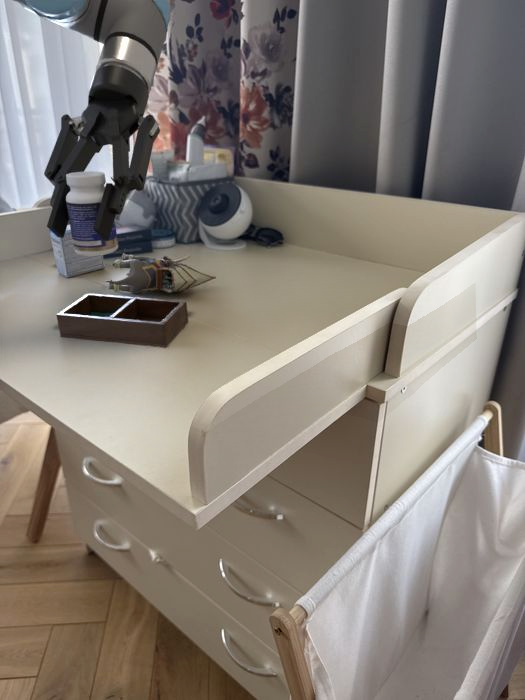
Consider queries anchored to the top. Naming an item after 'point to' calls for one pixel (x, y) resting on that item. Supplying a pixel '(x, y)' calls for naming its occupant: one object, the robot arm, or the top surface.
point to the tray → (123, 319)
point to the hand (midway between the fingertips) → (78, 233)
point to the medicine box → (72, 256)
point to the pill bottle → (87, 213)
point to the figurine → (156, 275)
